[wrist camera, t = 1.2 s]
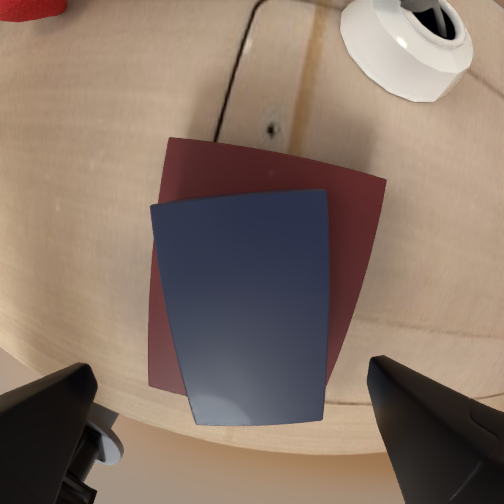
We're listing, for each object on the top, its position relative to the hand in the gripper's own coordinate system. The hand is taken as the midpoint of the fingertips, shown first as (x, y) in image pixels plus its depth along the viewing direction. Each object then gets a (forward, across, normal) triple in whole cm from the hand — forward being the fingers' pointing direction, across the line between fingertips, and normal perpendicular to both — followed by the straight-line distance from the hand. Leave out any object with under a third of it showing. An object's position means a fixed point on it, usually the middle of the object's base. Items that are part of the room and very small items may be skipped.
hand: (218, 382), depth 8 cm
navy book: (+7, -1, 0) cm, 7 cm away
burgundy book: (+10, -1, 0) cm, 10 cm away
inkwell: (+10, -8, -17) cm, 21 cm away
